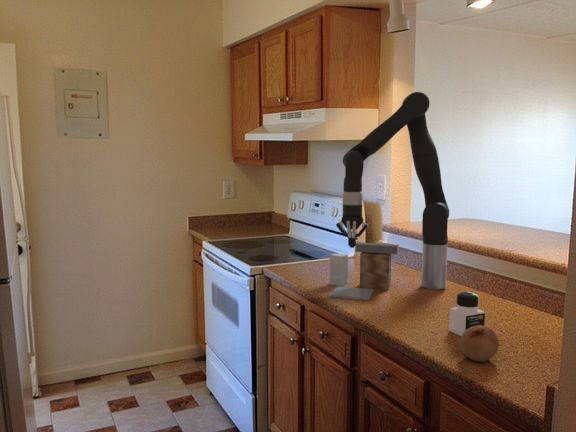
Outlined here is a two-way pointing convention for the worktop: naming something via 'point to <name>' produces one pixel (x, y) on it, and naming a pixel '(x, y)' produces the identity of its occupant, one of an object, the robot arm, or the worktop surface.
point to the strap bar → (377, 248)
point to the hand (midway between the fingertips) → (352, 247)
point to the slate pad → (352, 293)
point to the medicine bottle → (465, 313)
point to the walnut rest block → (375, 271)
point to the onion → (479, 343)
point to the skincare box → (339, 269)
